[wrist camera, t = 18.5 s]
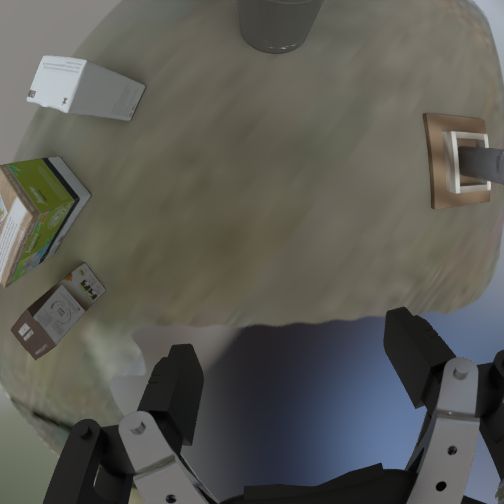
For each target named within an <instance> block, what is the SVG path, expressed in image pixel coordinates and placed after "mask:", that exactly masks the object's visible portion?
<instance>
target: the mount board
mask: <svg viewBox="0 0 504 504" xmlns="http://www.w3.org/2000/svg"><path fill="white" fill-rule="evenodd" d="M423 119H424V125H425V132H426V139H427V147H428V156H429V167H430V181H431V208H433V209H441V208H447V207H455V206H462V205H469V204H476V203H483V202H490V190H491V182H490V181H486V180H482V179H477V178H472V177H467V176H463V175H461V174H459V160H458V148H459V147H460V146H469V147H483V148H489V147H488V137H487V134H486V126H485V120H481V119H475V118H468V117H459V116H450V115H439V114H423Z"/></svg>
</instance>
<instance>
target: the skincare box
mask: <svg viewBox="0 0 504 504" xmlns="http://www.w3.org/2000/svg"><path fill="white" fill-rule="evenodd" d="M145 88H146V87H145V85H143V84H141V83H138V82H136V81H134V80H132V79H130V78H127V77H125V76H123V75H121V74H118V73H116V72H114V71H111V70H109V69H106V68H104V67H101V66H99V65H96V64H94V63H92V62H89V61H87V60H83V59H78V58H71V57H62V56H44V57H43V59H42V61H41V63H40V65H39V68H38V70H37V73H36V75H35V78H34V80H33V83H32V86H31V89H30V92H29V95H28V98H27V101H28V102H32V103H37V104H40V105H41V106H43V107H51V108H54V109H58V110H60V111H62V112H65V113H69V114H79V115H88V116H96V117H104V118H111V119H118V120H124V121H130V120H131V118H132V116H133V113H134V111H135V109H136V106H137V104H138V102H139V100H140V98H141V96H142V94H143V92H144V90H145Z"/></svg>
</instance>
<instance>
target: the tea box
mask: <svg viewBox="0 0 504 504" xmlns="http://www.w3.org/2000/svg"><path fill="white" fill-rule="evenodd" d="M90 197H91V194H90V193H89V192H88V191H87V189H86V188H85V187H84V186H83V185H82V184H81V182H80V181H79V180H78V179H77V177H76V176H75V175H74V174H73V173H72V171H71V170H70V169H69V168H68V166H67V165H66V164H65V163H64V161H63V160H62V159H61V158H60V157H51V158H42V159H35V160H28V161H21V162H15V163H9V164H4V165H0V283H1V284H2V286H3V287H4V288H6V287H8V286H9V285H10V284H12V283H13V282H15V281H16V280H17V279H18V278H20V277H21V276H23V275H24V274H26V273H27V272H28V271H30V270H31V269H32V268H34V267H36V266H37V265H38V264H40V263H41V262H42V261H44V260H46V259H47V258H49V257H50V256H52V255H53V254H54V253H55V251H56V249H57V248H58V246H59V244H60V243H61V241H62V239H63V238H64V236H65V235H66V233H67V231H68V230H69V228H70V226H71V225H72V224H73V222H74V221H75V219H76V217H77V216H78V214H79V213H80V211H81V210H82V208H83V207H84V205H85V204H86V202H87V201H88V200H89V198H90Z"/></svg>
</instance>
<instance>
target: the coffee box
mask: <svg viewBox="0 0 504 504" xmlns="http://www.w3.org/2000/svg"><path fill="white" fill-rule="evenodd" d="M104 292H105V288H104V287H103V286H102V284H101V283H100V282H99V281H98V279H97V278H96V277H95V275H94V274H93V273H92V271H91V270H90V269H89V267H88V266H87V264H86V263H83V264H82V265H80V266H79V267H78V268H76V269H75V270H74V271H73V272H71V273H70V274H69V275H67V276H66V277H65V278H64V279H62V280H61V281H60V282H58V283H57V284H56V285H55V286H53V287H52V288H51V289H50V290H49V291H47V292H46V293H45V294H44V295H43V296H41V297H40V298H39V299H38V300H37V301H35V302H34V303H33V304H32V305H31V306H30V307H29V308H27V309H26V310H25V312H24V313H23V314H22V315H21V317H20V318H19V319H18V321H17V322H16V323H15V325H14V326H13V327H12V329H11V331H12V333H13V334H14V335H15V337H16V338H17V339H18V341H19V342H20V343H21V345H22V346H23V347H24V348H25V349H26V350H27V351H28V352H29V353H30V355H31V356H32V357H33V358H34V359H35V360H37V359H39V358H40V357H41V356H43V355H44V354H46V353H47V352H49V351H50V350H51V349H53V348H54V347H55V346H56V345H57V344H58V342H59V341H60V340H61V339H62V338H63V336H64V335H65V334H66V333H67V332H68V331H69V330H70V329H71V327H72V326H73V325H74V324H75V323H76V322H77V321H78V320H79V318H80V317H81V316H82V315H83V314H84V313H85V312H86V311H87V310H88V309H89V308H90V307H91V305H92V304H93V303H94V302H95V301H96V300H97V299H98V298H99V297H100V296H101V295H102V294H103V293H104Z"/></svg>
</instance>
